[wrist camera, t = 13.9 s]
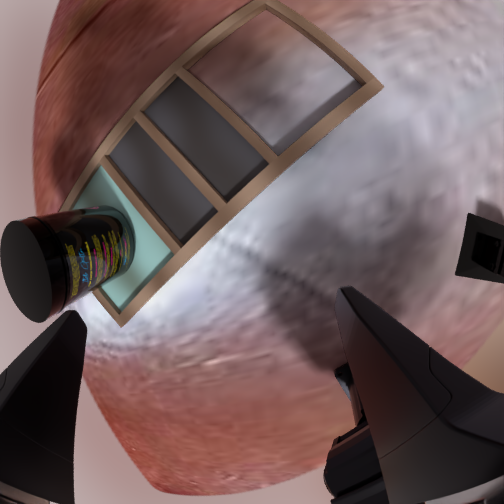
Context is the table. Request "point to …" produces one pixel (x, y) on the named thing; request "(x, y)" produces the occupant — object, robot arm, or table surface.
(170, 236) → the compartment sorting tray
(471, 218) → the black box
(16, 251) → the supplement container
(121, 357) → the table surface
